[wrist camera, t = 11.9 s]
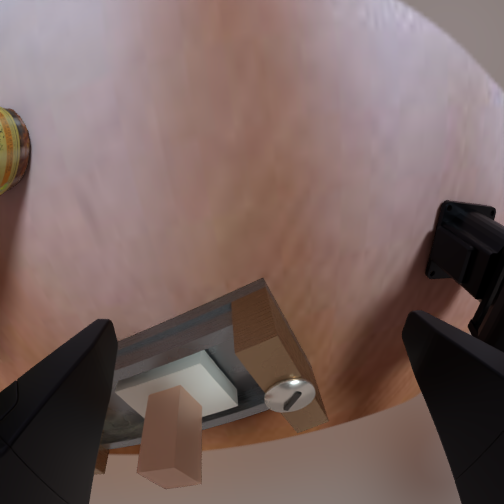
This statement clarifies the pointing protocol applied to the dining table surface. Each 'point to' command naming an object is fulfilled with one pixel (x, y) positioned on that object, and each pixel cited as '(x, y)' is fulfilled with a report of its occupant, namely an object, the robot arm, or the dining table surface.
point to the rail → (222, 364)
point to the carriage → (176, 415)
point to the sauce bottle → (12, 149)
